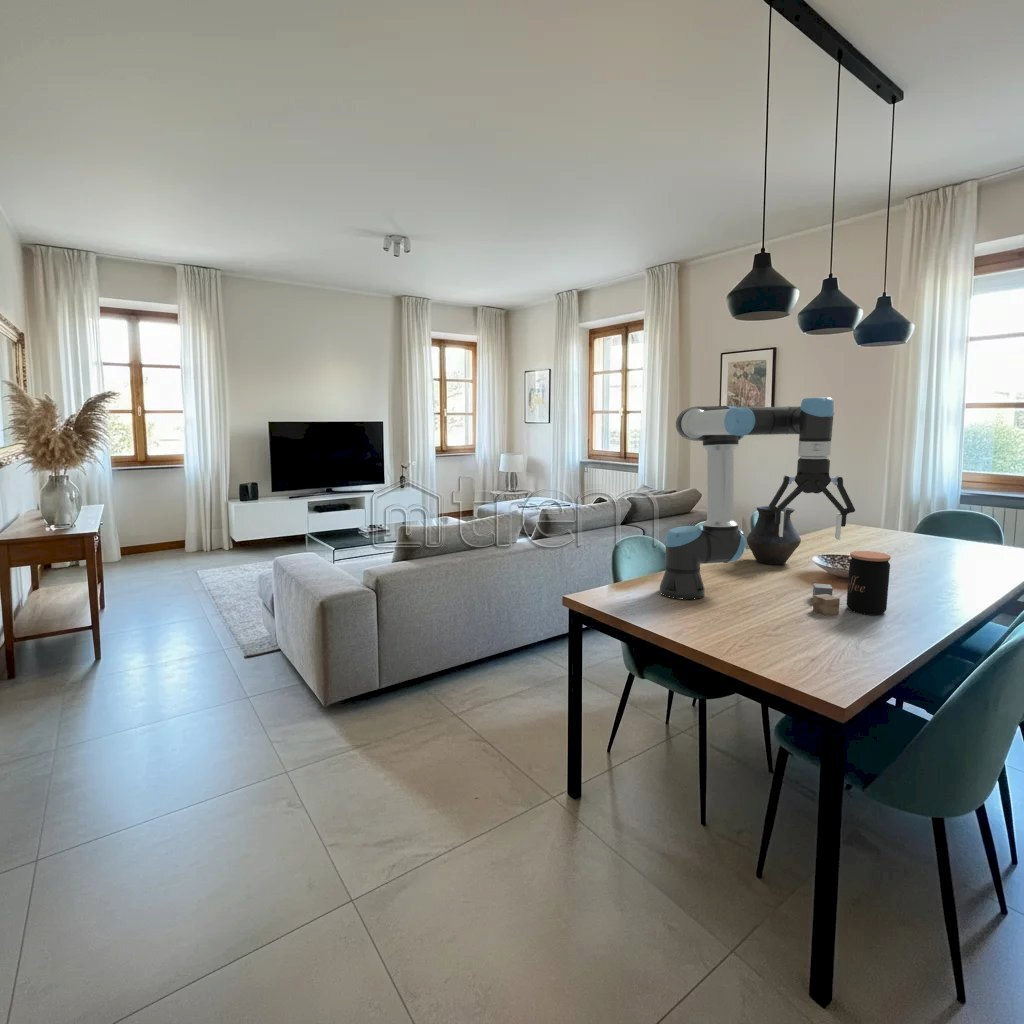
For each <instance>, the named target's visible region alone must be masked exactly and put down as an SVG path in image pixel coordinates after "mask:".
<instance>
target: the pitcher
mask: <svg viewBox="0 0 1024 1024" xmlns="http://www.w3.org/2000/svg"><path fill="white" fill-rule="evenodd" d="M756 510H757V512H758V517H757V520H756V522H755V525H754V527H753V528H752V530H751V531H750V532H749V533H748V535H747V537H746V543H747V545H748V547H749V550H750V551H751V553H752V555H753V557H754V559H755V560H756V562H759V563H762V564H766V565H775V566H776V565H777V566H782V565H784V564H786V563H787V562H788V560H789V559H790V558H791V556H792V555H793V554H794V552H795V551H796V550H797V548H798V547H799V546H800V545H801V543H802V538H801V537H800V535H799V534H798V532H797V530H796V528H795V527H794V525H793V523H792V519H791V514H792V513H794V512H795V509H794V508H792V507H791V508H790V507H787V506H786V507H785V508H784V509H783V510H782V512H784V524H783V537H780V536H779V524H776V522H775V514H776V512H775V511H773V510H770V509H769V505H768V506H767V505H766V506H757V507H756Z"/></svg>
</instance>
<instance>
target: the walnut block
mask: <svg viewBox="0 0 1024 1024" xmlns="http://www.w3.org/2000/svg"><path fill="white" fill-rule="evenodd" d="M840 601H841V599H840V597H837V596H834V595H833V594H832V595H829V594H822V595H814V599H813V601H812V602H813V604H812V605H813V607H812V611H814V612H816V613H818V614H821V615H823V616H831V615H839V614H840Z"/></svg>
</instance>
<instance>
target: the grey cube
mask: <svg viewBox="0 0 1024 1024" xmlns="http://www.w3.org/2000/svg"><path fill="white" fill-rule="evenodd" d="M822 594H829V595H832V596H833V587H832V585H831V584H826V583H813V587H812V599H813V600H814V595H822Z"/></svg>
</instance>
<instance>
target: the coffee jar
mask: <svg viewBox="0 0 1024 1024" xmlns="http://www.w3.org/2000/svg"><path fill="white" fill-rule="evenodd" d="M849 555H850V557H851V559H850V560H849V565H848V566H849V567H848V579H847V594H846V606H847V609H849V611H851V612H853V613H855V614H859V615H865V616H882V615H884V614H885V612H886V611H887V607H888V595H889V594H888V593H889V583H890V582H889V581H890V571H891V564H890V562H889V561H890V560H891V558H892V557H891V555H889V554H887V553H884V552H881V551H871V550H870V551H869V550H853V551H851V552H850V554H849Z"/></svg>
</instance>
